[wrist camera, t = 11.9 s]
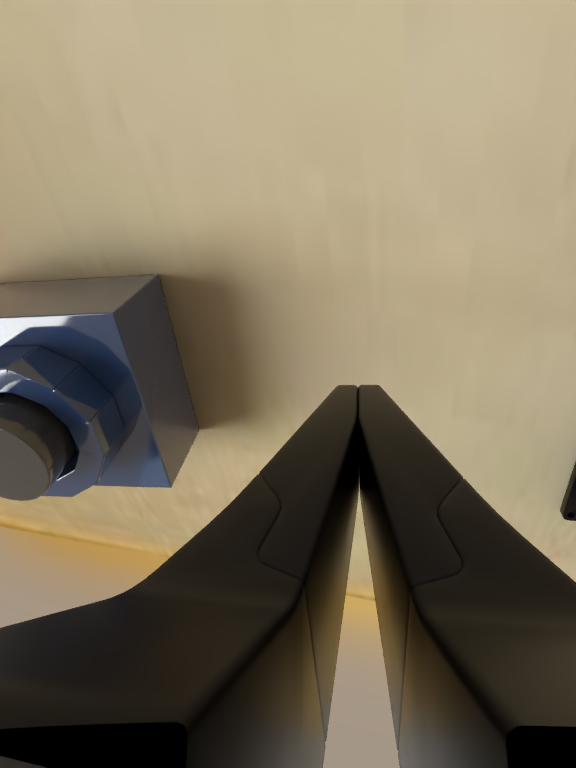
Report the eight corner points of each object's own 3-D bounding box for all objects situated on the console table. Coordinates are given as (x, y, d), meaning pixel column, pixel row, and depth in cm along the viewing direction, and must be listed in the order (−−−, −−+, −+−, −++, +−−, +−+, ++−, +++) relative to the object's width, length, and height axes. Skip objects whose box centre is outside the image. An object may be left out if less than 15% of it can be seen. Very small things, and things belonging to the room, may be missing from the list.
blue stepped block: (199, 430, 27) (156, 519, 21) (55, 429, 29) (-21, 512, 23) (158, 273, 22) (86, 334, 16) (-15, 284, 24) (-136, 343, 18)
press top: (89, 470, 21) (65, 502, 19) (7, 468, 22) (-23, 499, 20) (54, 392, 19) (23, 422, 17) (-36, 393, 19) (-74, 422, 18)
